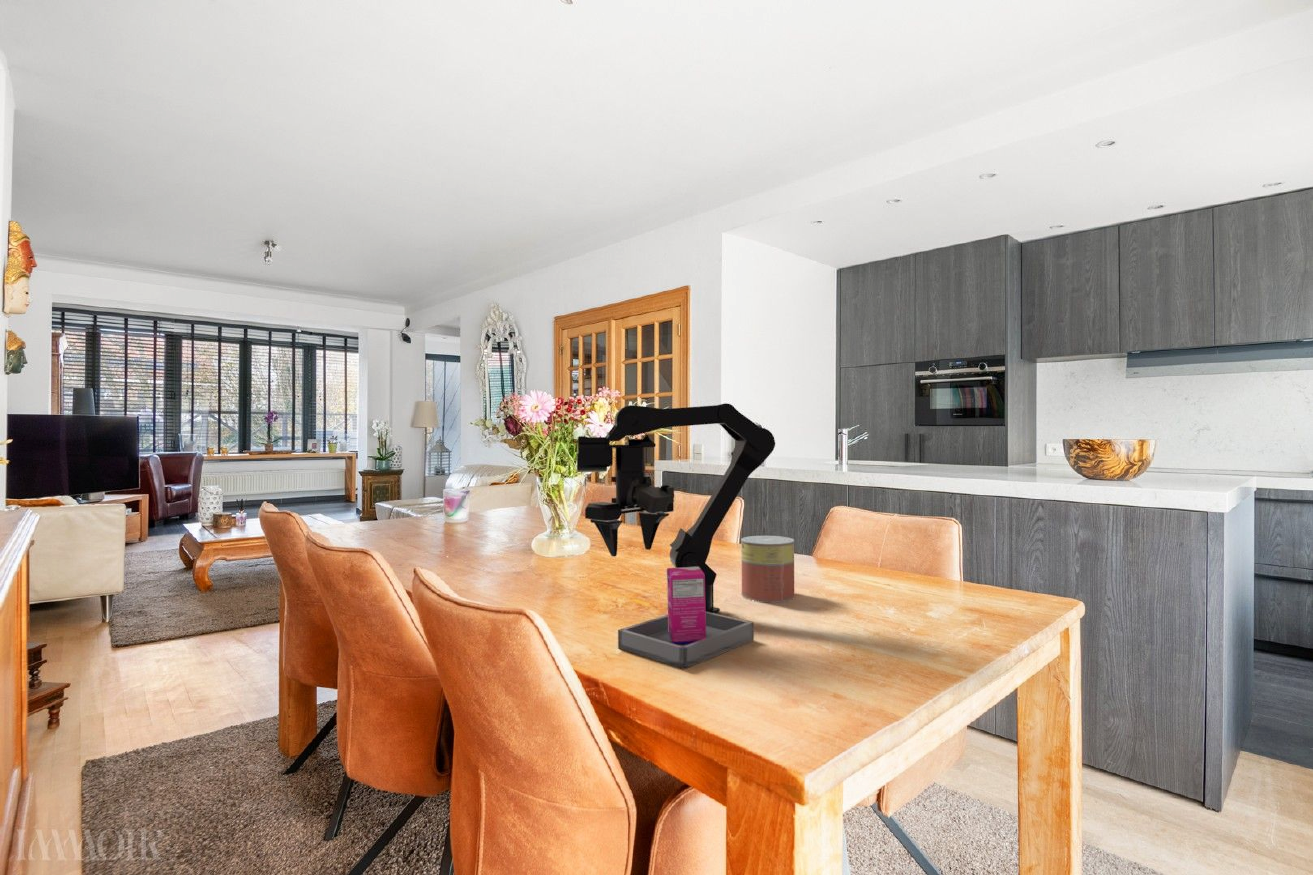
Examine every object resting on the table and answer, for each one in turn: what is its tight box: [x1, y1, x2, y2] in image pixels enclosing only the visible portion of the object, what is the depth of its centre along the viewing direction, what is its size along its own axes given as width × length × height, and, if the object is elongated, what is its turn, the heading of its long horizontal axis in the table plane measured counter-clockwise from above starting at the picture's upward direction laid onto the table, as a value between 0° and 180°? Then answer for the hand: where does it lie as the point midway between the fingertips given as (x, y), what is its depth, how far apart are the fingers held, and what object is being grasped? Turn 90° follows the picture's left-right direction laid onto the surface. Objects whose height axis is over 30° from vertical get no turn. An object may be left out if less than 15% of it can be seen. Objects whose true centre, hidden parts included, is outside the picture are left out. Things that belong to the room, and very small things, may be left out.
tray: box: [617, 612, 755, 670], centre depth 109 cm, size 18×14×3 cm
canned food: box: [740, 534, 796, 603], centre depth 140 cm, size 11×11×12 cm
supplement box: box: [666, 567, 706, 645], centre depth 108 cm, size 6×6×12 cm
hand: (631, 552), depth 126 cm, fingers open, 9 cm apart
